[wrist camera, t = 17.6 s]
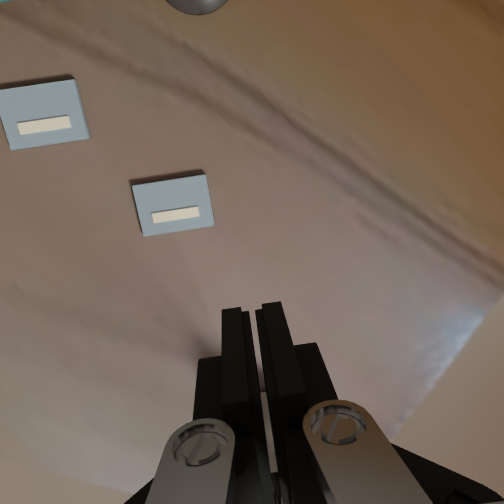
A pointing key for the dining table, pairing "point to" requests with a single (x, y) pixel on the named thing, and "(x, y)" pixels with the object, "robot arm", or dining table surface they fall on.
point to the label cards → (75, 128)
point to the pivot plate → (196, 6)
